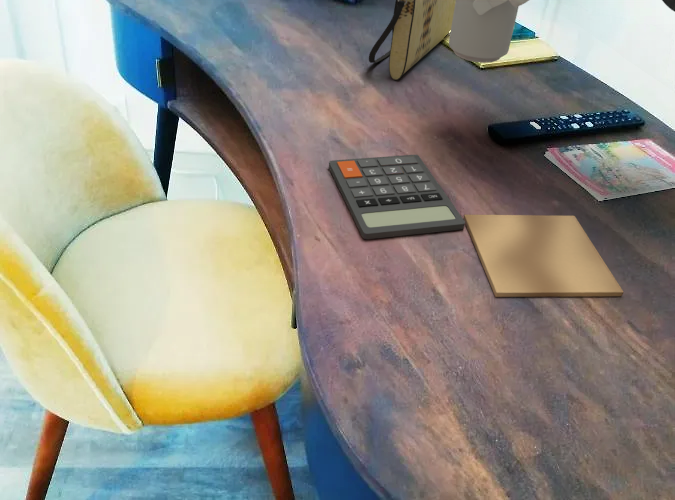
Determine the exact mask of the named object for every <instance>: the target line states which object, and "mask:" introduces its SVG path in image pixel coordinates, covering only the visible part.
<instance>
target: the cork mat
mask: <svg viewBox="0 0 675 500" xmlns="http://www.w3.org/2000/svg"><path fill="white" fill-rule="evenodd" d="M462 218H463V219H464V221H465V227H466V229H467V232H468V233H469V236H470V238H471V241H472V243H473V246H474V248H475V251H476V253H477V256H478V258H479V261H480V263H481V265H482V268H483V271H484V273H485V275H486V278H487V280H488V282H489V285H490V287H491V290H492V292H493V294H494V297H495V298H513V297H514V298H533V297H534V298H538V297H539V298H546V297H548V298H550V297H552V298H553V297H555V298H556V297H557V298H558V297H563V298H566V297H571V298H573V297H622V296H623V295H624V292H625V291H623V289H622V287H621V286H620V284H619V282H618V281H617V279H616V277H615V276H614V275H613V273H612V272H611V270H610V268H609V267H608V266H607V264H606V262H605V261H604V259H603V258H602V256H601V255H600V253H599V251H598V249H596V246H595V245H594V243H593V242H592V240H591V239H590V238H589V236H588V234H587V232H586V231H585V230H584V228H583V226H582V225H581V224H580V222H579V221H578V219H577V217H576V216H575V215H547V214H546V215H540V214H539V215H538V214H535V215H534V214H464V215H463V217H462Z"/></svg>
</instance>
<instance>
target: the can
mask: <svg viewBox="0 0 675 500" xmlns="http://www.w3.org/2000/svg"><path fill="white" fill-rule="evenodd" d="M474 1H475V0H456V3H455V8H454V14H453V20H452V26H451V32H450V34H449V38H448V46H449V47H450V49H451V50H452V51H453V53H454V54H455V55H456V57H458V58H459V59H463V60H466V61H468V62H474V63H482V64H484V63H485V64H486V63H488V64H489V63H494V62H497V61H499V60H501V58H503V57H504V56H506V55H508V53H509V51H510V45H511V41H512V37H513V33H514V29H515V24H516V21H517V16H518V11H519V8H520V6H518V7H514V6H513V5H512V4H511V2H510V1H509V0H508V1H506V2H505V3H502V4H500V5H498V6H496V7H493V8H492V9H490V10H489V11H487V12H486V13H484V14H483V15H479V14H478V13H477V12H476V10H475V9H474V7H473V2H474Z"/></svg>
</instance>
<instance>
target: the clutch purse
mask: <svg viewBox="0 0 675 500" xmlns="http://www.w3.org/2000/svg"><path fill="white" fill-rule="evenodd" d="M455 3H456V0H395V2H394V8H393V15H392V17H391V18H390V21H389V23H388V25H387V26H386V28H385V29H384V31H383V32H382V33H381V35H380V36H379V38H378V39H377V41H376V42H375V44H374V45H373V47H372V48H371V50H370V52H369V54H368V62H369V63H371V64H372V63H373V64H376V63H379V62H381V61H383V60H384V59H386V58H388V71H389V75H390V77H391V79H392V80H394V81H399V80H400V79H402V77H403V75H404V74H406V72H408V71H409V70H410V69H411V68H412V67H413V66H414V65H416V64H417V63H418V62H419V61H420V60H422V58H423V57H425V56H426V55H427V54H428V53H429V52H430V51H431V50H432V49H433V48H435V47H436V46H437V45H438V44H440V42H441V41H443V39H445V38H446V37H447V36H448V35H449V34H448V33H449V31H450V30H451V26H452V20H453V14H454V8H455ZM391 32H392V33H391ZM390 33H391V34H392V36H391V42H390V49H389V50H388V51H387V52H386V53H384V54H385V55H384V54H383V55H382V56H380V57H378V58H377V59H376V54H377V52H378V51H379V50H380V47H381V46H382V45H383V44H384V42H385V41H386V40H387V38H388V36H389V34H390ZM447 34H448V35H447ZM446 35H447V36H446ZM445 36H446V37H445ZM444 37H445V38H444Z"/></svg>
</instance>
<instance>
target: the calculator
mask: <svg viewBox="0 0 675 500" xmlns="http://www.w3.org/2000/svg"><path fill="white" fill-rule="evenodd" d="M328 169H329V171H330V173H331V175H332V177H333V179H334V181H335V183H336V186H337V188H338V190H339V191H340V194H341V197H342V198H343V200H344V202H345V204H346V207H347V208H348V210H349V213H350V215H351V217H352V219H353V221H354V222H355V225H356V227H357V229H358V231H359V233H360V235H361V238H363V239H364V240H374V239H382V238H383V239H384V238H393V237H402V236H403V237H404V236H411V235H412V236H413V235H421V234H429V233H431V234H432V233H440V232H451V231H459V230H464V229H465V226H466V224H465V221H464V219H463V218H464V217H463V216H462V215H461V213H460V212H459V211H458V209H457V208H456V206H455V205H454V204H453V202H452V201H451V199H450V198H449V197H448V195H447V194H446V192H445V191H444V190H443V188H442V186H441V185H440V184H439V183H438V181H437V180H436V178H435V176H434V175H433V174H432V172H431V171H430V169H429V168H428V166H427V165H426V164H425V162H424V161H423V159H422V158H421V156H420V155H418V154H404V155H402V154H401V155H389V156H375V157H361V158H349V159H348V158H347V159H346V158H345V159H334V160H333V159H332V160H329V162H328Z"/></svg>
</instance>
